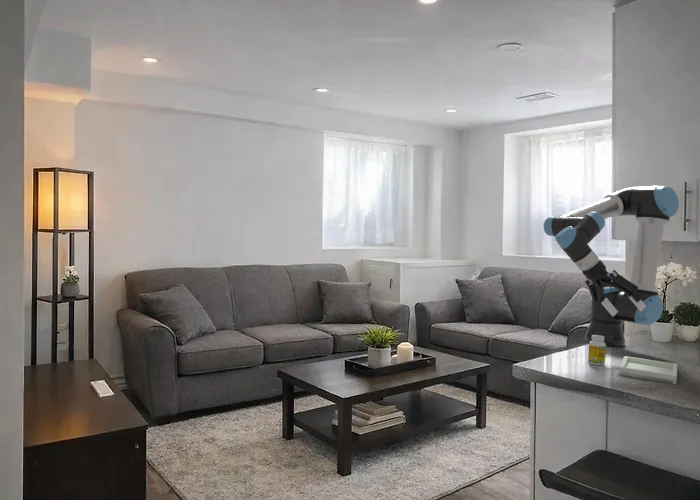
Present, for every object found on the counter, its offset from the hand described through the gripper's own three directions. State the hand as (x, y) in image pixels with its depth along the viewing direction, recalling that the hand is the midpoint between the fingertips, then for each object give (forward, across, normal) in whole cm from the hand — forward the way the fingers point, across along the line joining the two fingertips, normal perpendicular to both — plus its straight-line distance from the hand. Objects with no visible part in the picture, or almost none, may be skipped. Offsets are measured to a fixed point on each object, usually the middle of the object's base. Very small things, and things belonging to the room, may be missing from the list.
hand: (628, 311), depth 202 cm
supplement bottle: (+5, -3, -22) cm, 23 cm away
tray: (+14, +10, -17) cm, 24 cm away
